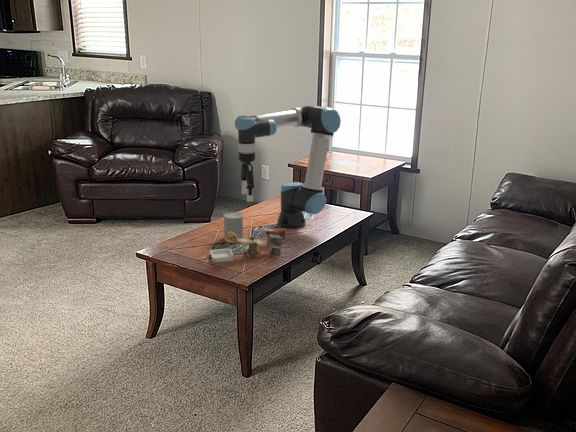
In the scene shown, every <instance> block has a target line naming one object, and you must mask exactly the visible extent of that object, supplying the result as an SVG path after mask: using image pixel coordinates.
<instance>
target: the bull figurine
mask: <svg viewBox="0 0 576 432" xmlns="http://www.w3.org/2000/svg"><path fill="white" fill-rule="evenodd" d="M259 233H260V235H262V236H265V238H266V239H267V240H268V237H269V234H273V235H279V236H280V237H281V240H282V243H285V242H286V233H287V229H285V228H281V227H279V228H276V229H273V228H272V229H270V228H269V229H267V228H263V229H262V230H261V232H259Z"/></svg>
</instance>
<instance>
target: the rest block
mask: <svg viewBox="0 0 576 432" xmlns="http://www.w3.org/2000/svg"><path fill="white" fill-rule="evenodd" d="M281 250H282V249H281V248H280V249H278V248H271V252H272V253H273V255H274V256H276V255H281V254H282V253H281Z"/></svg>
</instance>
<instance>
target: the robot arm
mask: <svg viewBox="0 0 576 432" xmlns="http://www.w3.org/2000/svg"><path fill="white" fill-rule="evenodd" d="M341 121H342V120H341V116H340V114H339V112H338V111H337V110H336V109H335V108H331V107H329V106H328V107H327V106H326V107H325V106H319V105H313V104H312V105H305V106H299V107H297V106H296V107H293V108H291V109H290V110H285V111H277V112H276V111H275V112H270V113H264V114H263V113H262V114H258V115H257V114H255V115H249V116H248V115H239V116H237V117H236V118H235V120H234V127H235V129H236V130H237V135H238V136H237V137H238V138H237V139H238V140H237V141H238V145H236V146H237V148H238V161H239V162H241V167H240V168H241V169H240V179H241V195H246V202H247V203H248V202H249V203H251V202H254V188H255V184H254V181H255V180H254V170H253V168H254V167H253V164H252V162H255V160H256V153H255V152H256V138H264V137H271V136H274V135H276V133H277V129H278V128H285V127H291V126H293V127H295V128H298V127H303V128H308V129H310V134H311V135H312V140H311V145H310V151H309V157H308V162H307V169H306V173H305V180H304V183H303V182H297V181H292V182H285V183H283V184H282V185H281V187H280V213H279V215H278V218H277V226H278V227H279V228H285V229H286V230H296V229H298V230H299V229H302V228H304V227H306V223H307V221H306V219H305V214H304V212H305V213H307V214H311V215H317V214H319V213H321V212H322V211H323V210H324V209H325V206H326V204H327V198H326V195H325V194H324V187H323V186H322V182H323V176H324V171H325V166H326V160H327V156H328V155H327V154H328V150H329V144H330V139H331V138H333V137H334V134H335V133H337V132H338V130H339V128H340V127H341V124H342V123H341Z"/></svg>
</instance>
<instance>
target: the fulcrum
mask: <svg viewBox="0 0 576 432" xmlns="http://www.w3.org/2000/svg"><path fill="white" fill-rule="evenodd" d="M248 239H250V240H251V239H253V240H255V237H254V236H252V237H248ZM244 253H245V254H246V256H247V257H248V259H256V258H257V259H258V258H262V253H261V252H260V249H259V248H258V246H257V242H256V243H252V245H248V248H245V249H244Z"/></svg>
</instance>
